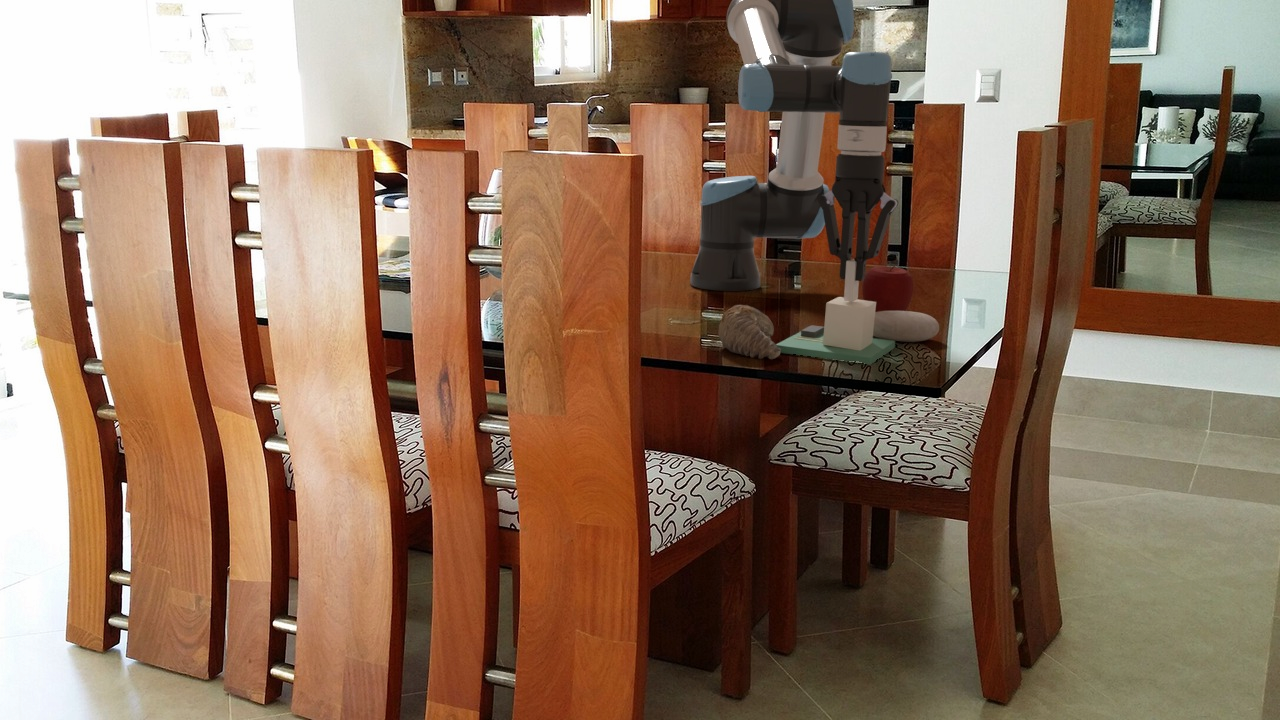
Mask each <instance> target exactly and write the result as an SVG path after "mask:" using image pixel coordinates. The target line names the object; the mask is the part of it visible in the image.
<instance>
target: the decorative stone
mask: <svg viewBox="0 0 1280 720" xmlns="http://www.w3.org/2000/svg"><path fill="white" fill-rule="evenodd" d="M939 331H940V324H939V322H938V320H937V319H935V318H934V317H933V316H931V315H930V314H926V313H923V312H918V311H910V310H909V311H908V310H906V311H879V312H875V320H874V329H873V337H874V338H877V339H884V340H892V341H895V342H903V343H915V342H923V341H928V340H930V339H932V338H935V336H937V335H938V333H939Z"/></svg>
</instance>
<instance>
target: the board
mask: <svg viewBox="0 0 1280 720" xmlns="http://www.w3.org/2000/svg"><path fill="white" fill-rule="evenodd" d="M823 335H824V326H821V325H813V324H812V325H809V326H807V327H805V328H803V329H801V330H800V331H799V332H797V333H795V334H794V335H791V336H789V337H787V338H786V339H784V340H781V341H780V342H778V343H775V345H776V346H777V347H779V348H780V349H781V352H780V354H786V355H787V354H788V355H793V354H796V355H795V356H800V355H803V356H802V357H807V356H811V357H810V358H815V357H821V358H820V359H822V358H828V359H827V360H829V359H837V360H844V361H859V362H862V363H865V364H868V365H867V366H871V365H872V363H873V364H874V363H875V362H877V361H878V360H879V358H880V357H881V358H883V357H884V356H886V354H888V353H889V352H891V351H892V350H893V349H895V347H896V341H892V340H886V339H881V338H877V337H873V339H872V344H870V345H869V346H867V347H865V348H864V349H862V350H861V351H859V350H853V349H847V348H840V347H834V346H828V345H823ZM883 355H884V356H883ZM881 358H880V359H881ZM877 359H878V360H877ZM876 360H877V361H876ZM865 364H864V365H865Z"/></svg>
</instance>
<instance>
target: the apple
mask: <svg viewBox="0 0 1280 720" xmlns="http://www.w3.org/2000/svg"><path fill="white" fill-rule="evenodd" d="M861 285H862V289H861V290H862V300H866V301H873V302H876V310H875V312H879V311H907V309H908V307H909V306H910V303H911V301H912V298H913V295H914V286H915V285H914V279H913V276H912V275H911V273H909V271H908V270H906V269H905V268H901V267H896V266H895V265H893V266H887V265H885V266H880V265H879V266H873V267H871V268H870V269H868V271H867V272H865V278H864V280H862V284H861Z"/></svg>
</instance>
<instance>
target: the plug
mask: <svg viewBox="0 0 1280 720" xmlns="http://www.w3.org/2000/svg"><path fill="white" fill-rule="evenodd" d="M875 310H876V302H873V301H866V300H864V299H859V298H858V299H857V300H855V301H853V302H852V301H844V296H837V297H835V298H834V299H831V300H830V301H827V302H826V304H825V314H824V315H825V316H824V326H823V327H824V335H823V345H828V346H834V347H840V348H847V349H853V350H859V351H861V350H862V349H864V348H865V347H867V346H869V345H870V344H872V339H873V338H874V336H873V329H874V320H875Z"/></svg>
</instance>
